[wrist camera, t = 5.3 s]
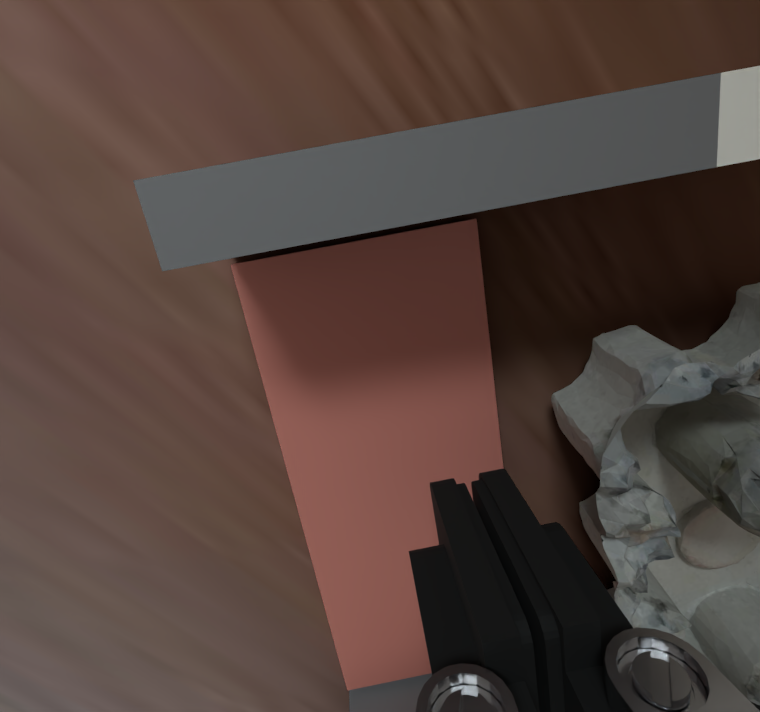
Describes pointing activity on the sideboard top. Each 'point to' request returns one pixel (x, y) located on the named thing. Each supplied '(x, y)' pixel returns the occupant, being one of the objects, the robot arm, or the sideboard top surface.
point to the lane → (408, 316)
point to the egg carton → (678, 482)
